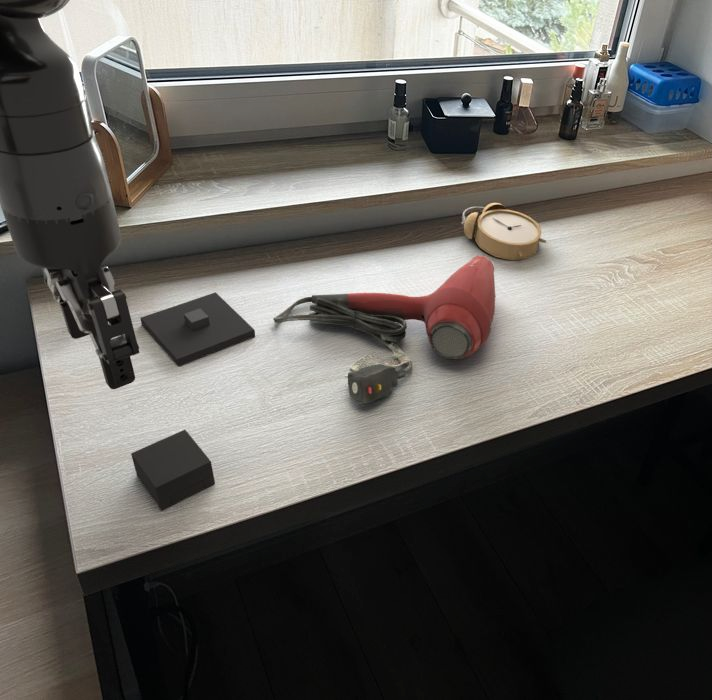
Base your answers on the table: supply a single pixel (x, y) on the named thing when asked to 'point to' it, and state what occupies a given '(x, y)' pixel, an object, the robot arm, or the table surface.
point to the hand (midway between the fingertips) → (102, 358)
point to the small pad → (173, 469)
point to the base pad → (197, 328)
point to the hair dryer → (438, 311)
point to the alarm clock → (503, 231)
